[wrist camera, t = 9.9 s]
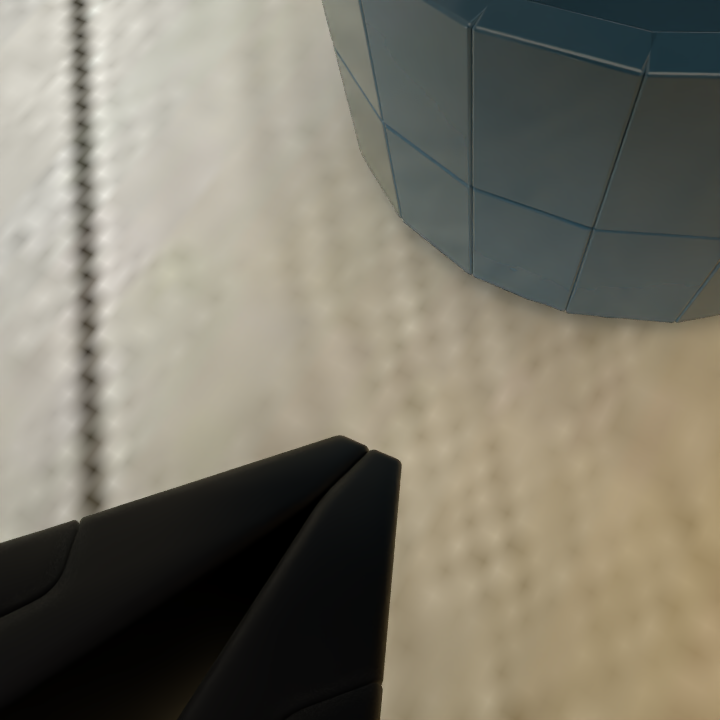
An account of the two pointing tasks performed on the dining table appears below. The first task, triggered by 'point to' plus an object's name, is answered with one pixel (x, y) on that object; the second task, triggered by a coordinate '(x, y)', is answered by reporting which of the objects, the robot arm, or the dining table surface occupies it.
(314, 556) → the robot arm
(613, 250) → the bowl
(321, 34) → the dining table surface
